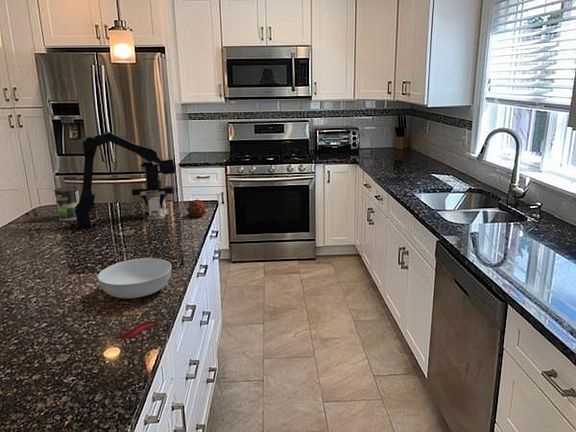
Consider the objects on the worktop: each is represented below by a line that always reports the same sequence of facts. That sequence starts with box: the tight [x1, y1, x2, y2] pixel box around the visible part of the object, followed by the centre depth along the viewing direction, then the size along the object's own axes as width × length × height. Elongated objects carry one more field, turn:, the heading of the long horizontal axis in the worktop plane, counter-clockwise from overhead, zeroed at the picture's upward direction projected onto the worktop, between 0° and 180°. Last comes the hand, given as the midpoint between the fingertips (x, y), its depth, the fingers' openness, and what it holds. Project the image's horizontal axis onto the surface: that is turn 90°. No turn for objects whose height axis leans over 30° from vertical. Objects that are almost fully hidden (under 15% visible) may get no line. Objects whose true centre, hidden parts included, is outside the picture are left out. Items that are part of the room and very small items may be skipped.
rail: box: [146, 196, 169, 221], centre depth 223 cm, size 16×7×7 cm, turn 5°
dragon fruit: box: [186, 199, 207, 218], centre depth 221 cm, size 8×8×12 cm
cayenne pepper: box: [115, 320, 159, 339], centre depth 117 cm, size 12×5×2 cm, turn 122°
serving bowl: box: [96, 257, 172, 299], centre depth 139 cm, size 21×21×7 cm
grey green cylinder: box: [53, 186, 80, 221], centre depth 223 cm, size 10×10×14 cm
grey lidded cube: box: [147, 197, 162, 216], centre depth 220 cm, size 6×5×7 cm
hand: (155, 208), depth 220 cm, fingers closed on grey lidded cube, 5 cm apart
